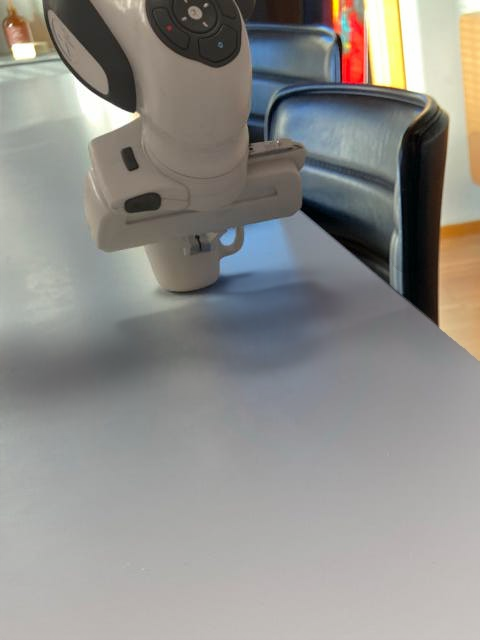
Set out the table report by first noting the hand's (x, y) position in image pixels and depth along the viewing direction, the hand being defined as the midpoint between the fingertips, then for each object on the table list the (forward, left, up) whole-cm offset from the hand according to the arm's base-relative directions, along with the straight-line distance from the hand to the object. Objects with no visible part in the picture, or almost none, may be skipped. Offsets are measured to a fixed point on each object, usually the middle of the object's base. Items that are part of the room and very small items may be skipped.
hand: (197, 247), depth 103 cm
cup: (-1, +3, -5) cm, 6 cm away
